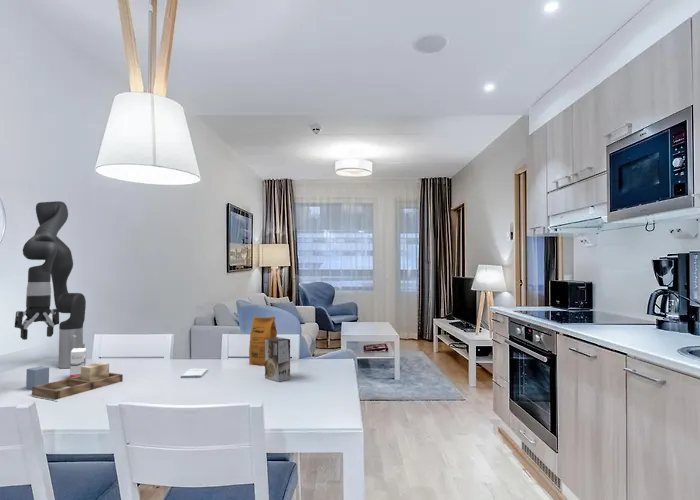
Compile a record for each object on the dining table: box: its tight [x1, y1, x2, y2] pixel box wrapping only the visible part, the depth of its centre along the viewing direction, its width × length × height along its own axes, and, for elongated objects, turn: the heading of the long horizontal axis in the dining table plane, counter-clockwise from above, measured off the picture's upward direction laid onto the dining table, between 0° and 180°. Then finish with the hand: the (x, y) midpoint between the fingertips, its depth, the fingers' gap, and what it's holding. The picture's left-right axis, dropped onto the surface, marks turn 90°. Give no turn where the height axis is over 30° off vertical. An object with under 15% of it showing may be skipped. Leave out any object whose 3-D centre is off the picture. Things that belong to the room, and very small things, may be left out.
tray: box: [31, 372, 124, 403], centre depth 166 cm, size 26×13×3 cm, turn 156°
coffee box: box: [264, 336, 291, 383], centre depth 182 cm, size 9×6×16 cm
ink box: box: [69, 347, 87, 378], centre depth 182 cm, size 8×5×12 cm, turn 26°
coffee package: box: [248, 315, 278, 366], centre depth 210 cm, size 10×12×22 cm
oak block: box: [81, 361, 110, 382], centre depth 171 cm, size 8×5×7 cm, turn 156°
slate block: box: [25, 365, 50, 391], centre depth 166 cm, size 5×5×8 cm
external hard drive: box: [180, 368, 209, 379], centre depth 189 cm, size 2×8×12 cm
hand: (37, 338), depth 167 cm, fingers open, 8 cm apart
